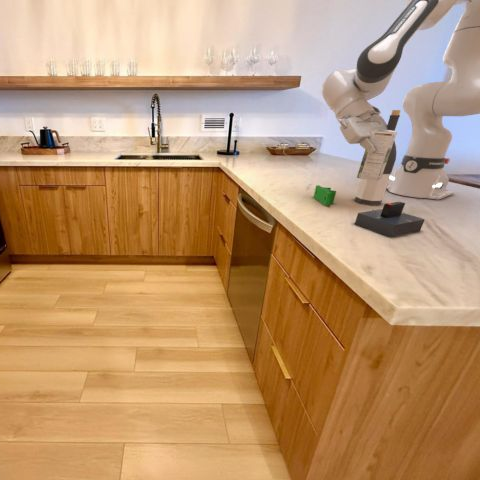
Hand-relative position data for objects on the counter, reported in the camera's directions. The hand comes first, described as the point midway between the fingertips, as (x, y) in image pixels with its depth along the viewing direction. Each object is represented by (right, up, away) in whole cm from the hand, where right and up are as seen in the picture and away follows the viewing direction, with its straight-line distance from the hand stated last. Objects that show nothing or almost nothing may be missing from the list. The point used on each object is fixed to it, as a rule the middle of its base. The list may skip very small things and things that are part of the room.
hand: (379, 151), depth 88 cm
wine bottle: (+7, -14, +15) cm, 21 cm away
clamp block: (-4, -24, -8) cm, 25 cm away
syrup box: (0, -8, +4) cm, 9 cm away
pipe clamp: (-8, -13, +15) cm, 22 cm away
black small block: (-4, -21, -9) cm, 23 cm away
